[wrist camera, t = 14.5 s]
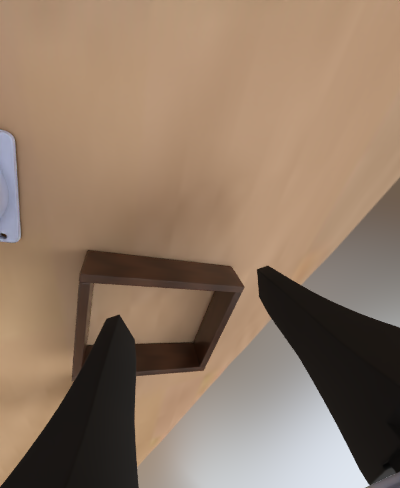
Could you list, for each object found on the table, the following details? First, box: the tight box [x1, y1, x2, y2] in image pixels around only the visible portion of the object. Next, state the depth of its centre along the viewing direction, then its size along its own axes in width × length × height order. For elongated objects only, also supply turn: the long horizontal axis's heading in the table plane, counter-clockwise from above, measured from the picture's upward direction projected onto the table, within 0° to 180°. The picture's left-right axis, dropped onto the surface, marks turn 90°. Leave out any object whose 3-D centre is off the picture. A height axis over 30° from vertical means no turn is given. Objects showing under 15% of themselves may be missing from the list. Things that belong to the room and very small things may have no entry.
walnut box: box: [72, 250, 244, 381], centre depth 23 cm, size 15×14×4 cm
